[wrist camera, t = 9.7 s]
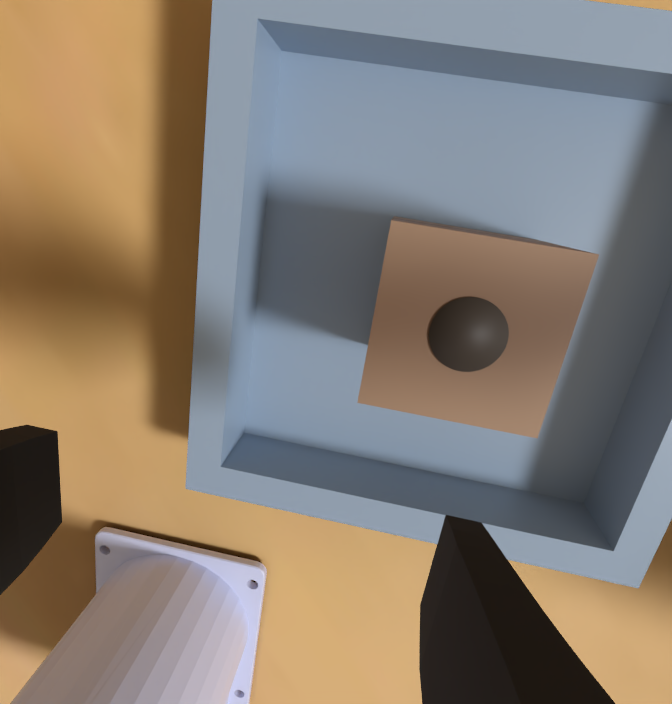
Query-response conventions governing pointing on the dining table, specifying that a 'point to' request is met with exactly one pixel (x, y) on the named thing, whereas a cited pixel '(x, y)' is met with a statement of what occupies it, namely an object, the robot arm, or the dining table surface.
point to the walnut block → (472, 325)
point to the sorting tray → (444, 208)
